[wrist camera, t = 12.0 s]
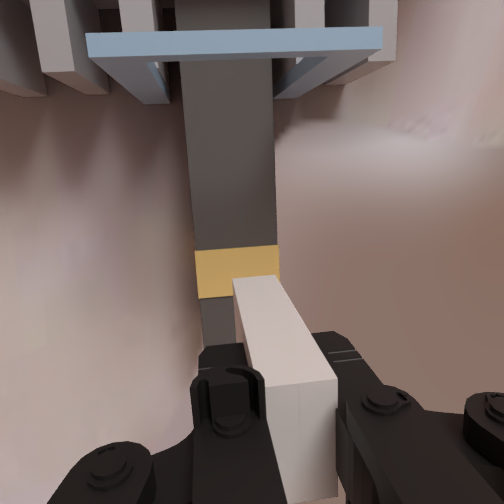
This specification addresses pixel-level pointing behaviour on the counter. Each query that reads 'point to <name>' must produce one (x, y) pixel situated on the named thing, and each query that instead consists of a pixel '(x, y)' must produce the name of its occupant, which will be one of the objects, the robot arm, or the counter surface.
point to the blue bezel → (232, 54)
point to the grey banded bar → (229, 162)
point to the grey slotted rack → (150, 20)
